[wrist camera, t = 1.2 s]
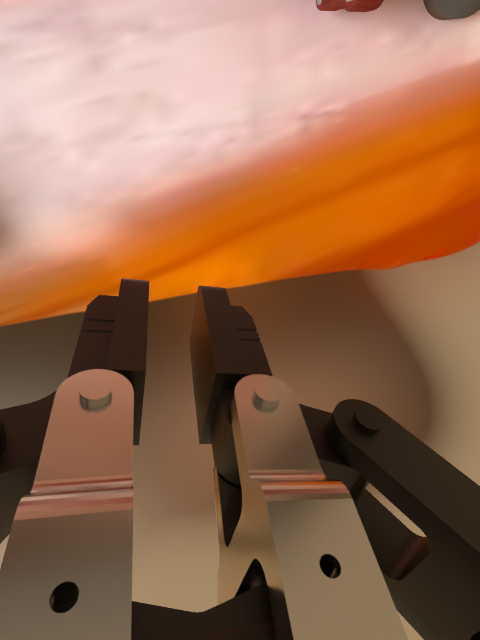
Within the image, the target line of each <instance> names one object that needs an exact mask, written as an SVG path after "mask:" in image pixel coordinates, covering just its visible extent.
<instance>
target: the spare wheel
mask: <svg viewBox="0 0 480 640" xmlns="http://www.w3.org/2000/svg"><path fill="white" fill-rule="evenodd" d="M424 4H425V6H426V9H427V11H428V12H429V13H430V15H432V16H433V17H434V18H436V19H439V20H449V19H459V18H465V17H468V16H470V15H472V14H474V13H475V12H477V11H478V10H479V9H480V0H424Z"/></svg>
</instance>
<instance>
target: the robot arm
mask: <svg viewBox="0 0 480 640" xmlns="http://www.w3.org/2000/svg"><path fill="white" fill-rule="evenodd" d="M148 299H149V281H145V280H134V279H123V278H122V279H121V284H120V291H119V297H118V296H106V295H99V296H97V297H96V298H95V299H94V300H93V301H92V302H91V303H90V304H89V305H88V306H87V309H86V313H85V317H84V321H83V324H82V327H81V332H80V335H79V338H78V342H77V346H76V349H75V353H74V357H73V361H72V364H71V368H70V371H69V375H68V377H67V379H66V380H65V381H64V382H63V383H62V384H61V385H60V386H59V388H58V390H56V391H55V392H54V393H52V394H51V395H49V396H47V397H45V398H43V399H41V400H38V401H35V402H32V403H29V404H25V405H20V406H15V407H11V408H6V409H1V410H0V543H1V542H2V541H3V540H4V539H5V538H6V537H7V536H8V535H9V534H10V535H9V539H8V542H7V546H6V550H5V554H4V557H3V561H2V565H1V569H0V640H408V638H407V636H406V633H405V631H404V628H403V625H402V623H401V620H400V618H399V615H398V613H397V611H398V612H399V613H400V614H401V615H402V616H403V617H404V618H405V619H406V621H407V622H408V623H409V624H410V625H411V626H412V627H413V628H414V629H415V630H416V631H417V632H418V633H419V635H420V636H421V637H422V638H423V639H424V640H480V486H479V485H477V484H476V483H475V482H474V481H472V480H471V479H470V478H468V477H467V476H466V475H464V474H463V473H462V472H461V471H459V470H458V469H457V468H455V467H454V466H453V465H451V464H450V463H449V462H448V461H446V460H445V459H444V458H442V457H441V456H440V455H438V454H437V453H436V452H435V451H433V450H432V449H431V448H429V447H428V446H427V445H425V444H424V443H423V442H422V441H420V440H419V439H418V438H416V437H415V436H414V435H413V434H411V433H410V432H409V431H407V430H406V429H405V428H403V427H402V426H401V425H400V424H398V423H397V422H396V421H394V420H393V419H392V418H391V417H389V416H388V415H387V414H385V413H384V412H383V411H382V410H380V409H379V408H377V407H376V406H374V405H372V404H370V403H367V402H364V401H361V400H356V399H349V400H344V401H341V402H340V403H338V404H337V406H336V407H335V409H334V411H333V413H329V412H325V411H322V410H319V409H315V408H311V407H307V406H305V405H302V404H299V403H298V401H297V398H296V395H295V393H294V392H293V391H292V390H291V388H290V387H289V386H288V385H287V384H285V383H284V382H282V381H281V380H279V379H277V378H275V377H273V376H272V373H271V370H270V367H269V364H268V361H267V358H266V356H265V353H264V350H263V347H262V344H261V342H260V338H259V335H258V333H257V332H256V327H255V324H254V321H253V318H252V317H251V316H250V315H249V314H248V312H247V311H245V309H244V308H243V307H240V306H230V302H229V299H228V295H227V292H226V289H225V288H220V287H209V286H199V287H198V291H197V296H196V302H195V308H194V314H193V320H192V326H191V332H190V356H191V357H190V358H191V367H192V377H193V386H194V396H195V405H196V415H197V425H198V434H199V443H200V444H212V450H213V457H214V465H213V483H214V494H215V506H216V517H217V528H218V539H219V554H220V555H219V556H220V558H219V559H220V560H219V561H220V562H219V571H218V605H217V606H216V607H213V608H211V609H209V610H207V611H204V612H199V613H196V612H189V611H183V610H178V609H172V608H167V607H161V606H156V605H150V604H145V603H140V602H134V601H132V554H133V549H132V548H133V486H132V465H133V463H132V462H133V445H139V438H140V427H141V416H142V405H143V395H144V383H145V373H146V350H147V325H148ZM369 483H371V484H372V485H373V486H374V487H375V488H376V489H377V490H378V491H379V492H381V493H382V494H383V495H384V496H385V497H386V498H387V499H388V500H389V501H390V502H392V503H393V504H394V505H395V506H396V507H397V508H398V509H400V511H401V512H402V513H404V514H405V515H406V516H407V517H408V518H409V519H410V520H411V521H412V522H413V523H415V524H416V525H417V526H418V527H419V528H420V529H421V530H422V531H423V532H424V534H425V535H426V536H427V537H422V536H419V535H416V534H415V533H413V532H412V531H410V530H409V529H408V528H407V527H406V526H405V525H404V524H403V523H402V522H401V521H400V520H399V519H397V518H396V517H395V516H394V515H393V514H392V513H391V512H390V511H389V510H388V509H387V508H386V507H385V506H383V505H382V504H381V503H380V502H379V501H378V500H377V499H376V498H375V497H374V496H373V495H372V494H371V493H369V492H368V491H367V490H366V489H365V488H366V487H367V486H368V484H369Z"/></svg>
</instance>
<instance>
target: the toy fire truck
mask: <svg viewBox="0 0 480 640" xmlns="http://www.w3.org/2000/svg"><path fill="white" fill-rule="evenodd" d="M382 2H383V0H316V4H317V8H318V9H319V10H321V11H336V10H339V9H343V8H345V9H346V10H347V11H351V12H368V11H372V10H375V9H377V8H378V7H379V6H380V5H381V4H382Z"/></svg>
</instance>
